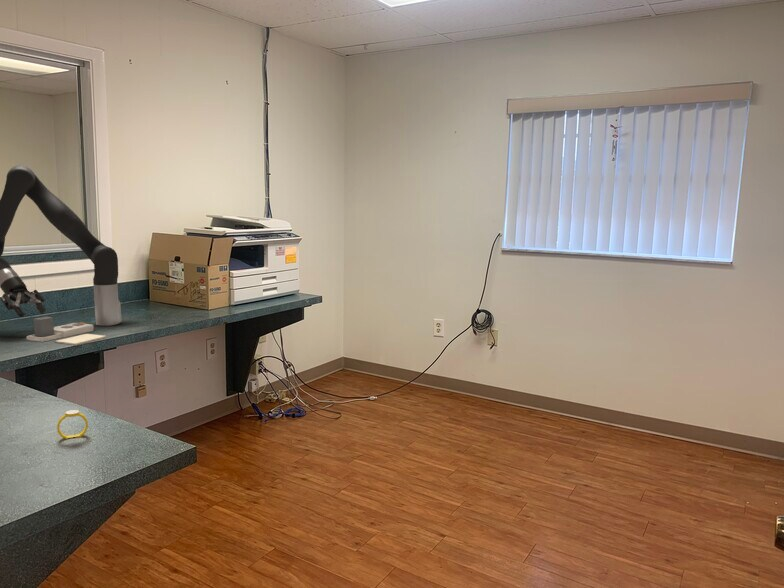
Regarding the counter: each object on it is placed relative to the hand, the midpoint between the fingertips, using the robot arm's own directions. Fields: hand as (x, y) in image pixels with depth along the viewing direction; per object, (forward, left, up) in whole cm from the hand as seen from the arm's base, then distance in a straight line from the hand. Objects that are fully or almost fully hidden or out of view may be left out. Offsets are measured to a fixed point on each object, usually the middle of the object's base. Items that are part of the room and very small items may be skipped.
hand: (33, 314), depth 228 cm
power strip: (-7, +5, -9) cm, 12 cm away
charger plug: (0, +5, -9) cm, 10 cm away
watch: (+67, +96, -9) cm, 117 cm away
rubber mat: (-4, +19, -9) cm, 21 cm away
